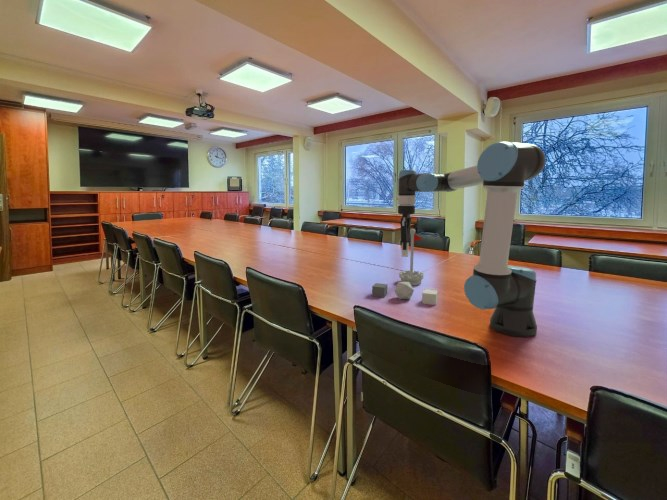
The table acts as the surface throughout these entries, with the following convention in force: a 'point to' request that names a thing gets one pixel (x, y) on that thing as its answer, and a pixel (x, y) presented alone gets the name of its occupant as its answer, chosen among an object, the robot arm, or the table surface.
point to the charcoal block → (379, 290)
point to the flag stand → (409, 275)
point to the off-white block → (429, 297)
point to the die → (404, 290)
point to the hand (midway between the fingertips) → (404, 256)
